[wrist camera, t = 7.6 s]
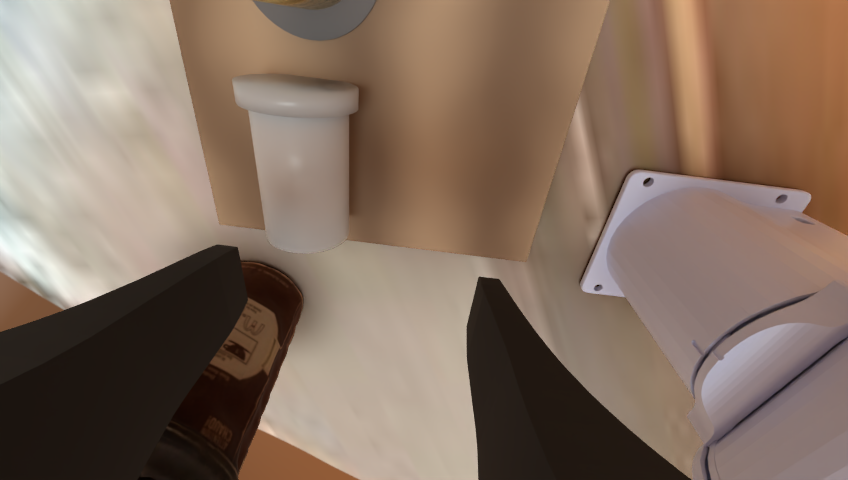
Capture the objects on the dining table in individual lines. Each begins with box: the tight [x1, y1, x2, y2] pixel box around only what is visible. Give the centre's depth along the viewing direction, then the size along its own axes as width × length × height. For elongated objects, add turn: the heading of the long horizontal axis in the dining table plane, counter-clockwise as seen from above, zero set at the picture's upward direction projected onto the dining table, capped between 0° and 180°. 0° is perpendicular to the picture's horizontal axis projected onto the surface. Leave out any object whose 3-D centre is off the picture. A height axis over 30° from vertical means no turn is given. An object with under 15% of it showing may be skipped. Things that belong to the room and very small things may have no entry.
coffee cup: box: [138, 262, 303, 480], centre depth 19 cm, size 9×8×13 cm
